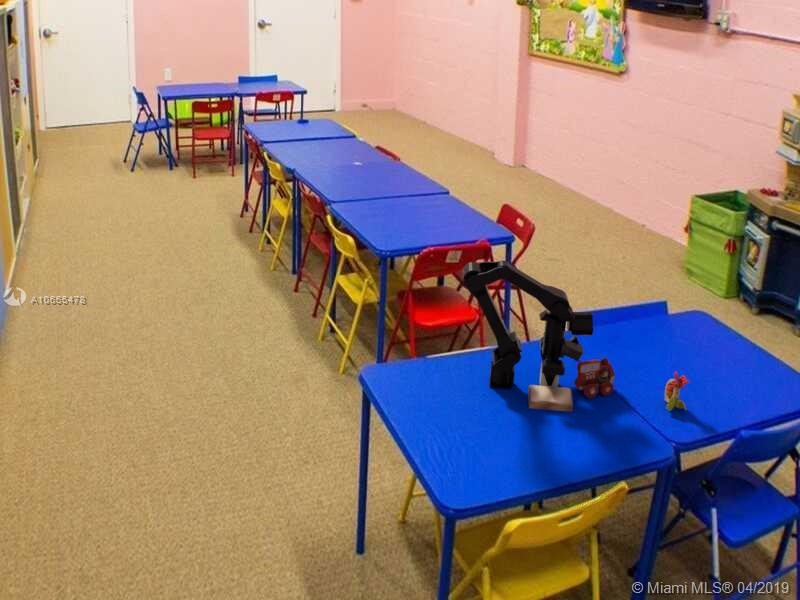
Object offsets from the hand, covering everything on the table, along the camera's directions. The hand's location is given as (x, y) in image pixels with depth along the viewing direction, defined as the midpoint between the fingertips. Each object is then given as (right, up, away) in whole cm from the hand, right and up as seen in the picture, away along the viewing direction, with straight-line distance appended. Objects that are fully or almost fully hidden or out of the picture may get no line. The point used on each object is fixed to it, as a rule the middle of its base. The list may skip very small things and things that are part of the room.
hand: (549, 380), depth 247 cm
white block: (0, -1, +1) cm, 2 cm away
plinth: (-1, -5, -7) cm, 9 cm away
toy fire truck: (+13, -3, -1) cm, 13 cm away
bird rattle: (+33, -6, -8) cm, 35 cm away
